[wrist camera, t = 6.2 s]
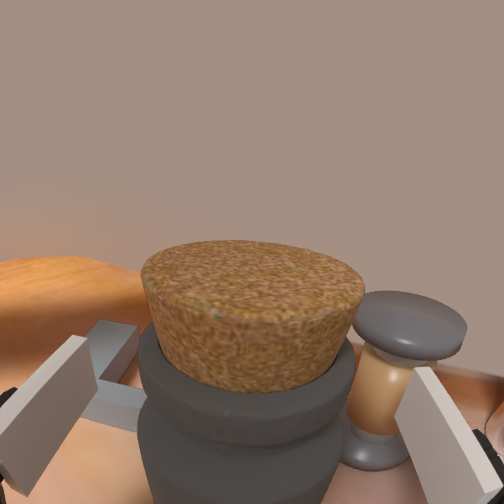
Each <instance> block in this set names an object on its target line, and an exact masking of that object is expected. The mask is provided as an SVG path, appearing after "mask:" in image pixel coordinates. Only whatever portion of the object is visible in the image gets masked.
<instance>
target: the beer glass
mask: <svg viewBox="0 0 504 504" xmlns="http://www.w3.org/2000/svg"><path fill="white" fill-rule="evenodd" d="M485 433H486V437H487V438H488V439H489V441H490V443H491V444H492V446H493V449H495V451H496V452H498V453H499V454H500V455H502V456H504V400H503V402H502V403H501V405H500V406H499V407H498V408H497V410H496V411H495V412H494V413H493V414H492V416H491V417H490V418H489V420H488V422H487V424H486V427H485Z"/></svg>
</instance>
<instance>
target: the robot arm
mask: <svg viewBox="0 0 504 504" xmlns="http://www.w3.org/2000/svg"><path fill="white" fill-rule="evenodd" d="M97 391H98V386H97V382H96V378H95V373H94V369H93V364H92V359H91V354H90V349H89V343H88V338H85V337H80V336H76V335H72V336H71V337H70V338H69V339H68V340H67V341H66V342H65V343H63V344H62V345H61V346H60V347H59V348H58V349H57V350H56V351H55V352H54V353H53V354H52V355H51V356H50V357H49V358H48V359H47V360H46V361H45V362H44V363H43V364H42V365H41V366H40V367H39V368H38V369H37V370H36V371H35V372H34V373H33V374H32V375H31V376H30V377H29V378H28V379H27V380H26V381H25V382H24V383H23V384H22V385H21V387H20V388H19V389H17V388H15V387H13V388H11V389H9V390H7V391H6V392H4V393H2V394H1V395H0V504H6V500H5V495H4V490H3V487H2V485H1V482H2V481H3V479H5V481H6V482H7V483H8V485H9V486H10V487H11V488H12V489H13V490H15V491H17V492H19V493H20V494H22V495H24V496H26V497H28V496H29V494H30V492H31V491H32V489H33V488H34V486H35V484H36V483H37V481H38V480H39V478H40V476H41V475H42V473H43V472H44V470H45V469H46V467H47V465H48V464H49V462H50V461H51V459H52V458H53V456H54V455H55V453H56V452H57V450H58V449H59V447H60V445H61V444H62V442H63V441H64V439H65V438H66V436H67V435H68V433H69V432H70V430H71V429H72V427H73V426H74V424H75V423H76V422H77V420H78V419H79V417H80V416H81V414H82V413H83V411H84V410H85V408H86V407H87V405H88V404H89V402H90V401H91V400H92V398H93V397H94V395H95V394H96V392H97ZM394 418H395V420H396V422H397V425H398V427H399V430H400V432H401V434H402V437H403V439H404V442H405V444H406V447H407V449H408V452H409V454H410V457H411V459H412V462H413V464H414V467H415V470H416V472H417V475H418V477H419V480H420V483H421V485H422V488H423V491H424V493H425V496H426V499H427V502H428V504H504V464H503V462H502V461H501V459H500V457H499V456H497V452H496V451H495V449H493V446H492V444H491V443H490V441H489V439H488V438H487V437H486V436H485V435H484V434H483V433H482V432H480V431H479V430H478V429H475V430H471V429H470V427H469V426H468V424H467V422H466V421H465V419H464V418H463V416H462V415H461V413H460V411H459V410H458V408H457V407H456V405H455V404H454V402H453V401H452V399H451V398H450V396H449V394H448V393H447V391H446V390H445V388H444V387H443V385H442V384H441V382H440V381H439V380H438V378H437V377H436V375H435V374H434V372H433V371H432V369H431V368H430V367H414V369H413V372H412V375H411V377H410V380H409V382H408V385H407V388H406V390H405V393H404V395H403V398H402V400H401V402H400V405H399V407H398V409H397V412H396V414H395V416H394Z"/></svg>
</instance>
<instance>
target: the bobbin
mask: <svg viewBox="0 0 504 504" xmlns="http://www.w3.org/2000/svg"><path fill="white" fill-rule="evenodd" d="M352 325H353V328H354V330H355V331H356V333H357V334H358V335H359V336H360V337H361V338H362V339H363V340H365V343H364V347H363V351H362V355H361V358H360V362H359V366H358V369H357V373H356V376H355V379H354V383H353V386H352V389H351V393H350V396H349V399H347V400H346V402H345V404H344V405H343V407H342V409H341V410H340V412H339V414H340V416H341V419H342V421H343V426H344V446H343V451H342V454H341V458H340V462H342V463H344V464H346V465H347V466H350V467H352V468H355V469H359V470H364V471H384V470H388V469H391V468H394V467H396V466H398V465H400V464H401V463H403V462H404V461H405V460H406V459H407V458H408V457H409V455H410V454H409V452H408V449H407V447H406V444H405V442H404V439H403V437H402V434H401V432H400V430H399V427H398V425H397V422H396V420H395V418H394V416H395V414H396V412H397V409H398V407H399V405H400V402H401V400H402V398H403V395H404V393H405V390H406V388H407V385H408V382H409V380H410V377H411V375H412V372H413V369H414V367H430V368H431V369H432V371H434V369H435V366H436V364H437V360H442V359H446V358H449V357H451V356H453V355H455V354H456V353H457V352H458V351H459V350H460V348H461V345H462V342H463V340H464V337H465V334H466V331H467V325H466V322H465V320H464V319H463V318H462V317H461V316H460V314H458V313H457V312H456V311H455V310H453V309H452V308H450V307H448V306H446V305H445V304H443V303H440V302H438V301H436V300H433V299H431V298H427V297H424V296H421V295H417V294H412V293H407V292H399V291H375V292H370V293H366V294H364V297H363V299H362V302H361V304H360V306H359V309H358V311H357V313H356V315H355V318H354V320H353V322H352Z"/></svg>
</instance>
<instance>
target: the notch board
mask: <svg viewBox="0 0 504 504" xmlns="http://www.w3.org/2000/svg"><path fill="white" fill-rule="evenodd" d="M84 337H85V338H88V343H89V349H90V354H91V359H92V364H93V369H94V373H95V378H96V382H97V386H98V391H97V392H96V394H95V395H94V397H93V398H92V400H91V401H90V402H89V404H88V405H87V407H86V408H85V410H84V411H83V413H82V414H81V416H80V417H83V418H86V419H89V420H93V421H96V422H99V423H103V424H106V425H110V426H113V427H117V428H121V429H125V430H129V431H133V432H137V421H138V417H139V413H140V410H141V408H142V406H143V403H144V402H145V400H146V398H147V395H146V393H145V391H144V389H140V388H135V387H130V386H126V385H121V384H117V383H118V382H119V380H120V379H121V377H122V376H123V374H124V373H125V371H126V370H127V368H128V366H129V365H130V363H131V362H132V360H133V359H134V357H135V356H136V354H137V353H138V346H139V342H140V340H139V329H138V326H137V325H131V324H125V323H119V322H114V321H108V320H103V319H100V320H99V321H98V322H97V323H96V324H95V325H94V326H93V327H92V328H91V329H90V330H89V332H88V333H87V334H86V335H85V336H84Z"/></svg>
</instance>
